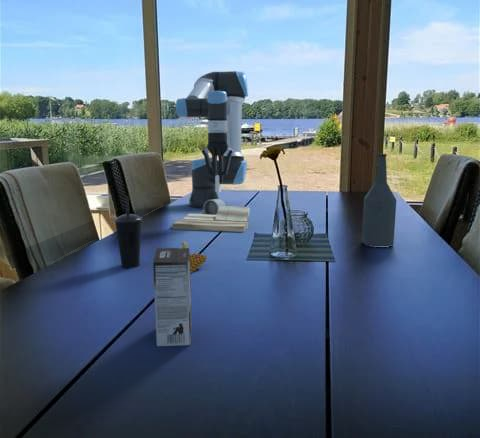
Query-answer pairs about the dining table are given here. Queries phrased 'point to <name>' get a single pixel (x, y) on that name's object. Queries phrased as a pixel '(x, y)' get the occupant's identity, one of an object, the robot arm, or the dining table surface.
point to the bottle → (379, 210)
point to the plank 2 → (232, 213)
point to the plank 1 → (200, 216)
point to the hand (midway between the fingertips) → (218, 191)
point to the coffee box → (172, 296)
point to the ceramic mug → (212, 206)
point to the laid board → (210, 225)
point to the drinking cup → (129, 237)
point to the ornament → (194, 259)
